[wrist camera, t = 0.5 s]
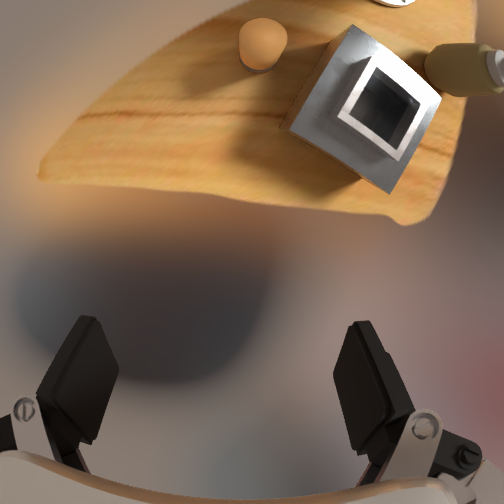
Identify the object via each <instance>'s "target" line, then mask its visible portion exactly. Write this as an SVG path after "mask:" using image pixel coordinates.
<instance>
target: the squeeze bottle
mask: <svg viewBox="0 0 504 504" xmlns="http://www.w3.org/2000/svg"><path fill="white" fill-rule="evenodd" d="M424 69H425V74H426V76H427V78H428V80H429V81H430V82H431V83H432V85H433V86H435V87H436V88H438V89H440V90H442V91H444V92H446V93H448V94H450V95H452V96H455V97H467V96H478V95H494V94H500V93H501V92H503V90H504V51H502V50H493V49H492V48H490V46H488V45H485V44H483V43H455V44H442V45H439V46H436V47H435V48H434V49H433V50H432V51H431V52H430V54H429V55H428V56H427V57H426V59H425V61H424Z"/></svg>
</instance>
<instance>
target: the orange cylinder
mask: <svg viewBox="0 0 504 504" xmlns="http://www.w3.org/2000/svg"><path fill="white" fill-rule="evenodd" d="M287 40H288V37H287V33H286V30H285V29H284V27H283V26H282V25H281V24H280V23H278V22H276V21H275V20H272V19H269V18H256V19H252V20H250V21H248V22H247V23H245V24H244V25H243V26H242V28H241V29H240V32H239V57H240V62H241V64H242V65H243V67H244V68H245V69H246V70H248V71H250V72H252V73H265V72H268V71H269V70H271V69H272V68H273V67H274V66H275V65H276V63H277V61H278V59H279V57H280V55H281V53H282V52H283V50H284V48H285V46H286V44H287Z"/></svg>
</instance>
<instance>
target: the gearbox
mask: <svg viewBox="0 0 504 504" xmlns="http://www.w3.org/2000/svg"><path fill="white" fill-rule="evenodd" d="M441 99H442V98H441V97H440V96H439V95H438V94H437V93H436V92H435V91H434V90H433V89H432V88H431V87H430V86H429V85H428V84H427V83H426V82H425V81H424V80H423V79H422V78H421V77H420V76H419V75H418V74H417V73H416V72H414V71H413V70H412V69H411V68H410V67H409V66H408V65H407V64H405V63H404V62H403V61H402V60H401V59H399V58H398V57H397V56H396V55H395V54H393V53H392V52H391V51H389V50H388V49H387V48H386V47H384V46H383V45H382V44H380V43H379V42H378V41H376V40H375V39H374V38H372V37H371V36H369V35H368V34H366V33H365V32H364V31H362V30H361V29H359V28H358V27H356V26H355V25H353V24H352V25H351V26H350V27H348V28H347V29H346V30H344V31H343V32H342V33H341V34H339V35H338V36H337V37H336V38H334V39H333V40H332V41H331V42H330V43H329V45H328V46H327V48H326V49H325V51H324V53H323V54H322V56H321V57H320V59H319V61H318V62H317V64H316V66H315V67H314V69H313V71H312V72H311V74H310V75H309V77H308V79H307V80H306V82H305V84H304V86H303V87H302V89H301V91H300V92H299V94H298V96H297V97H296V99H295V101H294V103H293V104H292V106H291V108H290V109H289V111H288V113H287V115H286V116H285V118H284V120H283V122H282V123H281V125H280V127H279V128H281V129H282V130H284V131H286V132H288V133H290V134H292V135H293V136H295V137H297V138H299V139H300V140H302V141H304V142H306V143H307V144H309V145H311V146H312V147H314V148H316V149H317V150H319V151H321V152H322V153H324V154H326V155H327V156H329V157H330V158H332V159H334V160H335V161H337V162H338V163H340V164H341V165H343V166H345V167H346V168H348V169H349V170H351V171H352V172H354V173H355V174H357V175H358V176H359V177H361V178H362V179H364V180H366V181H368V182H369V183H371V184H373V185H374V186H376V187H378V188H379V189H381V190H383V191H384V192H386V193H388V194H389V195H390V193H391V191H392V190H393V188H394V186H395V185H396V183H397V181H398V180H399V178H400V176H401V175H402V173H403V171H404V170H405V168H406V166H407V164H408V163H409V161H410V159H411V157H412V156H413V154H414V152H415V150H416V148H417V146H418V145H419V143H420V141H421V139H422V137H423V135H424V133H425V132H426V130H427V128H428V126H429V124H430V122H431V120H432V118H433V116H434V114H435V112H436V110H437V108H438V106H439V104H440V101H441Z"/></svg>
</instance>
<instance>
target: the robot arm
mask: <svg viewBox="0 0 504 504" xmlns="http://www.w3.org/2000/svg"><path fill="white" fill-rule="evenodd" d="M374 1H376V2H379V3H381V4H384V5H387V6H392V7H404V6H407V5H409V4H411V3H413V2H414V1H415V0H374ZM118 373H119V367H118V364H117V361H116V359H115V357H114V355H113V353H112V350H111V348H110V346H109V343H108V341H107V339H106V336H105V334H104V331H103V329H102V327H101V324H100V322H99V321H97V319H96V318H95V317H93V316H84V315H81V316H80V317H79V318H78V320H77V321H76V323H75V325H74V326H73V328H72V329H71V331H70V333H69V334H68V336H67V337H66V339H65V341H64V342H63V344H62V346H61V348H60V349H59V351H58V353H57V354H56V356H55V358H54V360H53V362H52V363H51V365H50V367H49V369H48V371H47V372H46V374H45V376H44V378H43V380H42V382H41V384H40V386H39V388H38V390H37V392H36V394H37V396H36V398H35V397H33V396H32V395H29V394H24V395H21V396H19V397H17V398H16V399H15V400H14V402H13V403H12V406H11V414H9V415H7V416H5V417H2V418H0V504H504V473H503V472H502V471H500V470H499V469H498V468H497V467H496V466H494V465H493V464H492V463H491V462H490V461H489V460H487V459H484V460H483V459H482V452H481V449H480V447H479V446H478V445H477V444H476V443H474V442H472V441H470V440H467V439H465V438H462V437H460V436H458V435H455V434H452V433H451V432H448V431H446V430H444V429H443V425H442V421H441V419H440V417H439V416H438V415H437V414H436V413H435V412H433V411H431V410H428V409H419V410H417V411H416V410H415V408H414V406H413V404H412V401H411V399H410V396H409V394H408V392H407V390H406V388H405V385H404V383H403V381H402V379H401V377H400V375H399V372H398V370H397V368H396V366H395V364H394V362H393V360H392V358H391V356H390V354H389V353H387V352H385V350H384V348H383V346H382V343H381V341H380V339H379V338H378V335H377V333H376V331H375V329H374V328H373V326H372V324H371V322H370V321H356V322H354V323H353V325H352V326H349V327H348V330H347V333H346V336H345V339H344V343H343V346H342V349H341V351H340V354H339V357H338V360H337V363H336V366H335V368H334V372H333V378H334V382H335V386H336V389H337V393H338V397H339V400H340V404H341V408H342V412H343V415H344V419H345V423H346V427H347V431H348V435H349V439H350V443H351V447H352V449H353V450H356V451H357V455H358V456H359V455H364V454H367V455H368V458H369V461H370V462H369V464H368V466H367V467H366V469H365V471H364V473H363V474H362V476H361V478H360V479H359V481H358V483H357V484H356V486H355V487H354V488H350V489H345V490H340V491H334V492H329V493H322V494H315V495H309V496H300V497H290V498H280V499H279V498H278V499H257V500H232V499H212V498H200V497H190V496H182V495H175V494H168V493H162V492H156V491H152V490H146V489H142V488H137V487H133V486H129V485H125V484H121V483H117V482H114V481H110V480H107V479H104V478H101V477H98V476H95V475H91V473H90V471H89V469H88V467H87V465H86V463H85V461H84V458H83V456H82V454H81V452H80V449H79V447H78V446H79V443H80V442H83V443H86V444H89V445H92V441H93V440H95V439H96V438H97V435H98V432H99V429H100V426H101V422H102V419H103V416H104V413H105V410H106V407H107V404H108V401H109V398H110V396H111V393H112V390H113V387H114V384H115V382H116V379H117V376H118Z"/></svg>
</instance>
